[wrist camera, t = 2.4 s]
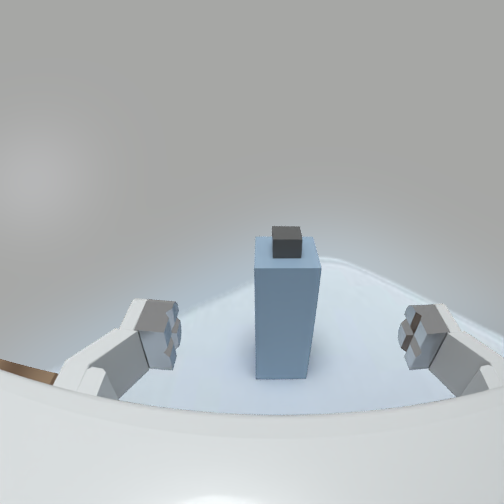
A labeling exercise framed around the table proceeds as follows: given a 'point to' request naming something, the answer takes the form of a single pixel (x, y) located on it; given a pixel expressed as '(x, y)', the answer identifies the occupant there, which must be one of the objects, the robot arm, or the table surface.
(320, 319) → the table surface
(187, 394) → the table surface
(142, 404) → the robot arm
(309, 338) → the plug block
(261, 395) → the table surface
